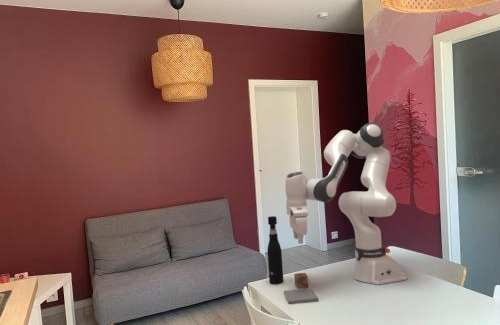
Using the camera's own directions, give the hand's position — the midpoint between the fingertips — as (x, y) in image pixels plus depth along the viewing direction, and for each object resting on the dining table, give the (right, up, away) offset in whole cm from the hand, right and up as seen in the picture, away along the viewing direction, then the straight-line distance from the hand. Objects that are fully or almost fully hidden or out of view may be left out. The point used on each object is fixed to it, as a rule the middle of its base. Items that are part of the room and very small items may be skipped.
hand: (298, 241), depth 166 cm
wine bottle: (-9, -21, +8) cm, 24 cm away
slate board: (-1, -21, -11) cm, 23 cm away
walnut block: (+2, -20, +1) cm, 20 cm away
